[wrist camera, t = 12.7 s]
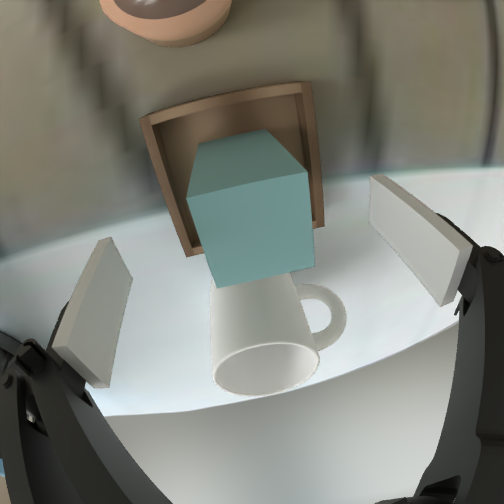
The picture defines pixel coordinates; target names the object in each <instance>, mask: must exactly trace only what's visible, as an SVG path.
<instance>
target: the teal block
mask: <svg viewBox="0 0 504 504" xmlns="http://www.w3.org/2000/svg"><path fill="white" fill-rule="evenodd" d="M186 200H187V203H188V206H189V209H190V212H191V215H192V218H193V221H194V224H195V227H196V230H197V233H198V236H199V239H200V242H201V245H202V248H203V251H204V253H205V256H206V259H207V262H208V265H209V268H210V270H211V273H212V276H213V279H214V282H215V284H216V287H217V288H222V287H227V286H231V285H236V284H240V283H245V282H249V281H254V280H258V279H263V278H267V277H272V276H276V275H280V274H285V273H289V272H293V271H298V270H302V269H306V268H310V267H314V266H315V258H314V242H313V227H312V215H311V203H310V192H309V182H308V172H307V171H306V170H305V169H304V168H303V167H302V165H301V164H300V163H299V162H298V161H297V160H296V159H295V158H294V157H293V156H292V155H291V154H290V153H289V152H288V151H287V150H286V149H285V148H284V147H283V146H282V145H281V144H280V143H279V142H278V141H277V140H276V139H275V138H274V137H273V136H272V135H271V134H270V133H269V132H268V131H267V130H266V129H263V130H258V131H252V132H247V133H243V134H238V135H233V136H229V137H224V138H220V139H216V140H211V141H207V142H203V143H199V144H198V148H197V152H196V156H195V160H194V164H193V169H192V173H191V178H190V182H189V187H188V192H187V197H186Z"/></svg>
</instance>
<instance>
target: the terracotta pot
mask: <svg viewBox="0 0 504 504" xmlns="http://www.w3.org/2000/svg"><path fill="white" fill-rule="evenodd" d="M99 1H100V5H101V7H102V9H103V11H104V12H105V14H106V15H107V16H108V17H109V18H110V19H111V20H112V21H113V22H115V23H116V24H118V25H120V26H122V27H124V28H126V29H128V30H130V31H131V32H133V33H135V34H137V35H139V36H141V37H143V38H144V39H146V40H148V41H150V42H152V43H154V44H156V45H159V46H164V47H185V46H190V45H193V44H196V43H199V42H201V41H203V40H205V39H207V38H209V37H210V36H212V35H213V34H214V33H215V32H217V31H218V30H219V29H220V28H221V27H222V25H223V24H224V23H225V21H226V19H227V17H228V15H229V12H230V9H231V5H232V1H233V0H99Z"/></svg>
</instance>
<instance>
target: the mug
mask: <svg viewBox="0 0 504 504" xmlns="http://www.w3.org/2000/svg"><path fill="white" fill-rule="evenodd" d="M209 298H210V335H211V360H212V377H213V380H214V382H215V383H216V385H217V386H218V387H219V388H221V389H222V390H224V391H226V392H229V393H232V394H236V395H241V396H266V395H272V394H277V393H280V392H284V391H287V390H289V389H292V388H294V387H296V386H298V385H300V384H302V383H303V382H305V381H306V380H308V379H309V378H310V377H311V376H312V375H313V374H314V373H315V371H316V370H317V368H318V366H319V362H320V357H319V354H318V351H320V350H322V349H325V348H327V347H328V346H330V345H332V344H333V343H334V342H335V341H336V340H337V339H339V337H340V336H341V334H342V333H343V331H344V328H345V326H346V311H345V307H344V305H343V303H342V301H341V299H340V298H339V297H338V296H337V295H336V294H335V293H334V292H332V291H331V290H329V289H328V288H326V287H323V286H320V285H314V284H302V285H296V286H295V285H294V283H293V280H292V278H291V276H290V274H289V273H285V274H280V275H276V276H272V277H267V278H263V279H258V280H254V281H249V282H245V283H240V284H236V285H231V286H227V287H222V288H217V287H216V284H215V282H214V279H212V282H211V285H210V295H209ZM310 298H313V299H318V300H321V301H323V302H324V303H325V304H326V305H327V306H328V307H329V309H330V311H331V315H332V319H331V323H330V324H329V326H328V327H327V328H325V329H324V330H322V331H320V332H316V333H311V331H310V328H309V325H308V322H307V319H306V316H305V313H304V310H303V307H302V305H301V302H300V300H302V299H310Z"/></svg>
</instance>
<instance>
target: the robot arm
mask: <svg viewBox="0 0 504 504" xmlns="http://www.w3.org/2000/svg"><path fill="white" fill-rule="evenodd" d="M369 223H370V225H371V226H372V227H373V228H374V229H375V230H376V231H377V232H378V233H379V234H380V235H381V236H382V237H383V239H384V240H385V241H386V242H387V243H388V244H389V245H390V246H391V248H392V249H393V250H394V251H395V252H396V253H397V254H398V256H399V257H400V258H401V259H402V260H403V261H404V263H405V264H406V265H407V266H408V267H409V268H410V270H411V271H412V272H413V273H414V274H415V276H416V277H417V278H418V279H419V281H420V282H421V283H422V284H423V286H424V287H425V288H426V289H427V291H428V292H429V293H430V294H431V296H432V297H433V298H434V300H435V301H436V302H437V304H438V305H439V306H440V307H442V306H444V305H446V304H448V303H450V302H453V300H454V298H455V295H456V293H457V290H458V291H459V292H460V293H461V294H462V297H461V299H460V301H459V304H458V306H457V308H456V310H455V313H454V315H457V313H458V311H459V310H460V312H459V331H458V344H457V354H456V362H455V370H454V377H453V383H452V389H451V394H450V399H449V404H448V408H447V413H446V417H445V421H444V425H443V429H442V433H441V436H440V440H439V443H438V446H437V450H436V453H435V456H434V458H433V460H432V462H431V463H430V464H429V466H428V467H427V468H426V470H425V472H424V473H423V475H422V478H421V480H420V483H419V485H418V487H417V489H416V492H415V494H414V496H413V497H408V498H406V497H404V498H398V499H391V500H383V501H380V502H377V503H375V504H504V256H503V254H502V253H501V252H500V251H498V250H497V249H495V248H493V247H490V246H484V247H480V246H479V245H478V244H476V243H475V242H474V241H473V240H472V239H471V238H470V237H469V236H468V235H467V234H465V233H464V232H463V231H462V230H460V228H458V227H457V226H456V225H454V223H453V222H451V221H450V220H449V219H448V218H446V217H444V216H442V215H440V214H438V213H435V212H433V211H432V210H431V209H430V208H428V207H427V206H426V205H425V204H423V203H422V202H421V201H419V200H418V199H417V198H415V197H414V196H413V195H411V194H410V193H409V192H407V191H406V190H405V189H403V188H402V187H400V186H399V185H398V184H396V183H395V182H393V181H392V180H391V179H389V178H388V177H386V176H385V175H383V174H379V175H372V176H370V206H369ZM132 280H133V278H132V277H131V275H130V273H129V271H128V269H127V267H126V265H125V264H124V262H123V260H122V258H121V256H120V254H119V252H118V250H117V248H116V246H115V244H114V242H113V240H112V238H111V237H109V238H106V239H103V240H99V241H98V243H97V245H96V247H95V249H94V251H93V252H92V254H91V256H90V258H89V260H88V262H87V264H86V266H85V268H84V270H83V272H82V275H81V277H80V279H79V281H78V283H77V285H76V287H75V290H74V292H73V294H72V296H71V299H70V301H68V302H67V304H66V305H65V306H64V308H63V309H62V310H61V313H60V315H59V318H58V321H57V323H56V325H55V329H54V330H53V333H52V335H51V338H50V341H49V344H48V346H47V349H46V351H45V350H44V349H43V348H42V347H41V346H40V345H39V344H38V343H37V342H36V340H35V339H27V340H26V341H24V342H23V343H22V344H20V343H19V342H18V341H16V340H14V339H13V338H11V337H9V336H7V335H5V334H3V333H1V332H0V475H1V476H5V478H6V484H7V488H8V493H9V497H10V501H11V504H173V503H172V502H171V501H170V500H169V499H168V498H167V497H166V496H165V495H164V494H163V493H162V492H161V491H160V490H159V489H158V488H157V487H156V486H155V484H154V483H153V482H152V481H151V480H150V479H149V477H148V476H147V475H146V474H145V473H144V472H143V470H142V469H141V468H140V467H139V466H138V464H137V463H136V462H135V460H134V459H133V458H132V456H131V455H130V454H129V453H128V451H127V450H126V449H125V447H124V446H123V444H122V443H121V442H120V440H119V439H118V437H117V436H116V435H115V433H114V432H113V430H112V429H111V427H110V426H109V424H108V423H107V421H106V420H105V418H104V416H103V415H102V413H101V412H100V410H99V408H98V407H97V405H96V403H95V402H94V400H93V398H92V397H91V395H90V393H89V392H88V391H87V390H86V389H85V383H86V381H87V382H88V383H89V384H90V385H91V386H92V387H93V388H109V386H110V380H111V374H112V368H113V363H114V357H115V352H116V347H117V342H118V337H119V332H120V328H121V323H122V319H123V315H124V311H125V307H126V303H127V299H128V295H129V291H130V287H131V284H132ZM29 415H30V416H31V417H32V418H33V422H30V421H29V420H28V419H29ZM454 500H455V501H454ZM453 502H454V503H453Z"/></svg>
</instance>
